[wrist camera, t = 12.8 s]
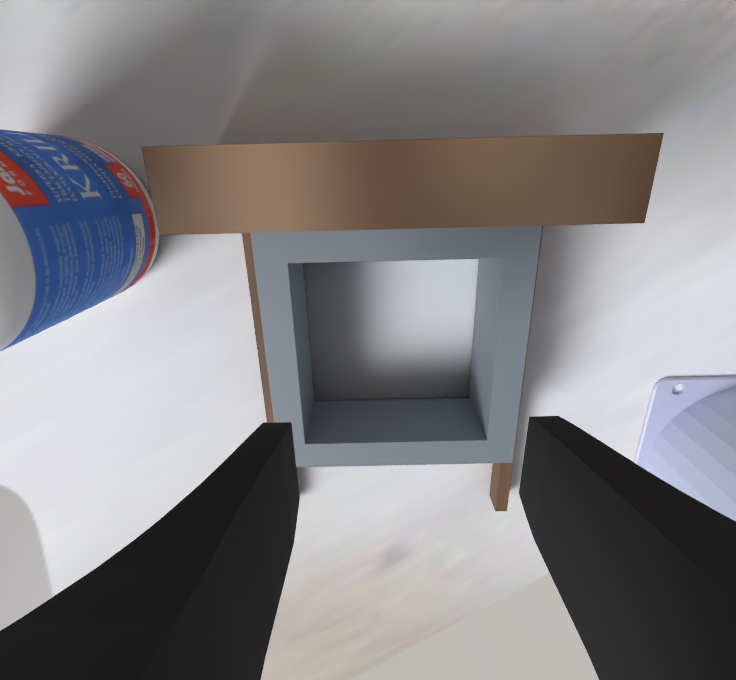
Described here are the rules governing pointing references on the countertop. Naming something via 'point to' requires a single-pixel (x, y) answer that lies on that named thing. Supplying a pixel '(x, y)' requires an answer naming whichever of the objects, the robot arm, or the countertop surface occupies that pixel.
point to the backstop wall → (400, 194)
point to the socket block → (402, 416)
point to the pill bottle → (66, 230)
